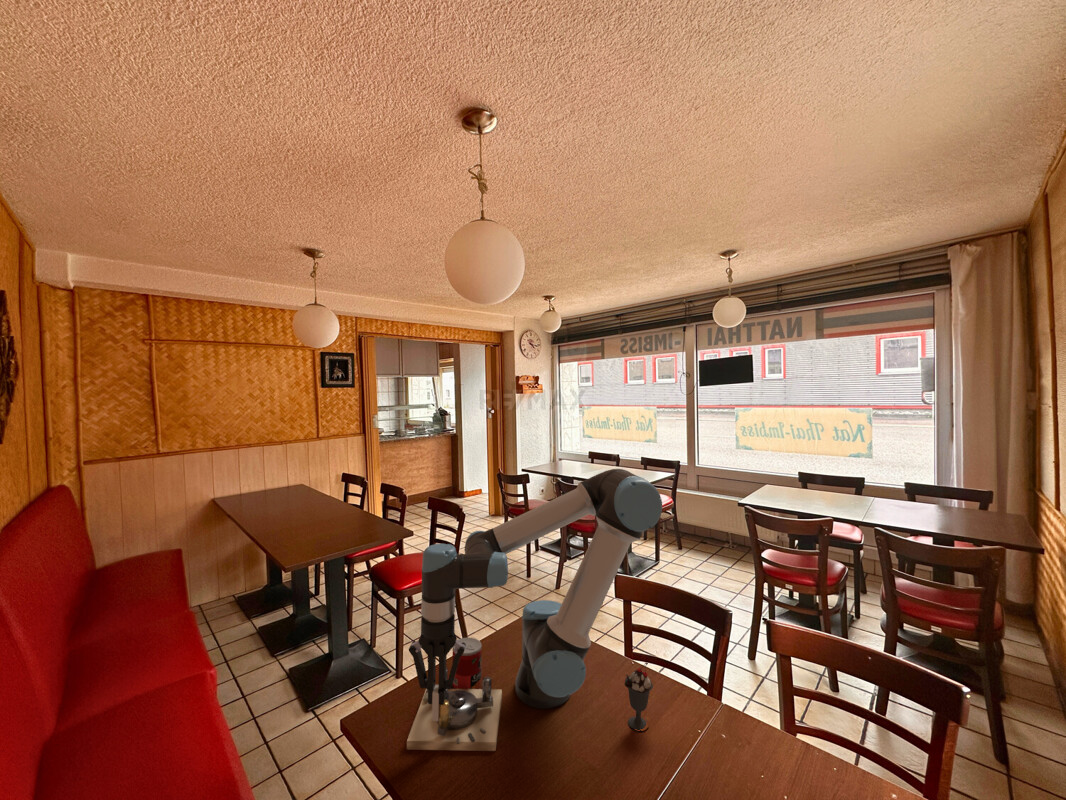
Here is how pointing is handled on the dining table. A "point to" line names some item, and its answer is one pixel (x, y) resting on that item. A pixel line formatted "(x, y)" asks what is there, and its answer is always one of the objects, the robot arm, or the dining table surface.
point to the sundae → (638, 696)
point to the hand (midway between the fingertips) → (436, 716)
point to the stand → (469, 738)
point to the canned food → (469, 665)
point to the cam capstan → (462, 707)
